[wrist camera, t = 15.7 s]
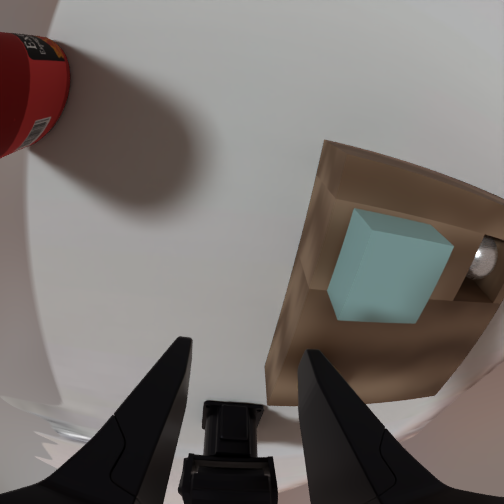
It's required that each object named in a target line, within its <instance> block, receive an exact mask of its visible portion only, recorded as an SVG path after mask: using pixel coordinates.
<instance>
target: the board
mask: <svg viewBox="0 0 504 504" xmlns="http://www.w3.org/2000/svg"><path fill="white" fill-rule="evenodd" d="M354 208H356V209H361V210H366V211H371V212H376V213H381V214H385V215H390V216H395V217H399V218H404V219H408V220H412V221H417V222H421V223H425V224H430V225H431V226H433V227H434V228H435V229H436V230H437V231H438V232H439V233H440V234H441V235H443V236H444V237H445V238H446V239H447V240H448V241H449V242H450V243H451V244H452V245H453V246H454V248H453V250H452V252H451V254H450V257H449V259H448V261H447V263H446V265H445V268H444V270H443V272H442V274H441V276H440V278H439V280H438V282H437V284H436V286H435V288H434V290H433V292H432V294H431V296H430V298H429V300H428V302H427V304H426V305H425V307H424V309H423V311H422V313H421V315H420V316H419V318H418V320H417V322H416V323H415V324H412V323H380V322H359V321H341V320H337V317H336V314H335V311H334V309H333V306H332V303H331V300H330V297H329V295H328V292H327V289H328V286H329V284H330V281H331V278H332V275H333V272H334V269H335V266H336V263H337V260H338V257H339V254H340V251H341V248H342V245H343V242H344V239H345V236H346V233H347V229H348V226H349V223H350V220H351V216H352V213H353V210H354ZM484 235H489V236H492V238H493V239H494V241H495V243H496V246H497V251H498V257H497V262H496V265H495V267H494V269H493V270H492V272H491V273H490V274H489V275H487V276H486V277H484V278H482V279H476V280H475V279H470V278H467V277H466V275H467V273H468V270H469V268H470V266H471V264H472V262H473V260H474V258H475V256H476V253H477V251H478V249H479V247H480V244H481V242H482V240H483V237H484ZM503 299H504V199H503V198H500V197H498V196H496V195H494V194H491V193H489V192H487V191H485V190H482V189H480V188H477V187H475V186H473V185H470V184H468V183H465V182H463V181H460V180H457V179H455V178H452V177H449V176H447V175H444V174H441V173H439V172H436V171H433V170H430V169H427V168H424V167H421V166H418V165H415V164H412V163H409V162H406V161H403V160H399V159H396V158H393V157H389V156H386V155H383V154H379V153H376V152H372V151H368V150H365V149H361V148H357V147H353V146H349V145H345V144H341V143H337V142H333V141H328V140H324V143H323V148H322V152H321V157H320V161H319V165H318V170H317V174H316V178H315V183H314V187H313V191H312V195H311V199H310V203H309V207H308V212H307V216H306V220H305V224H304V228H303V231H302V235H301V239H300V243H299V247H298V251H297V255H296V258H295V262H294V266H293V270H292V273H291V277H290V281H289V284H288V288H287V292H286V295H285V299H284V302H283V306H282V309H281V313H280V316H279V320H278V323H277V327H276V330H275V333H274V337H273V340H272V344H271V347H270V350H269V354H268V357H267V360H266V363H265V379H266V394H267V405H269V406H298V391H297V380H298V374H297V372H298V366H299V363H300V361H301V358H302V356H303V354H304V351H305V350H306V349H318V350H320V351H321V352H322V353H323V355H324V356H325V357H326V358H327V359H328V360H329V362H330V363H331V364H332V365H334V366H335V367H336V368H337V369H338V370H339V371H340V373H341V375H342V377H343V378H344V379H345V381H346V382H347V383H348V384H349V385H350V387H351V388H352V389H353V390H354V391H355V392H356V394H357V395H358V396H359V397H360V398H361V399H362V401H363V402H364V403H365V404H371V403H382V402H392V401H400V400H408V399H416V398H423V397H429V396H435V395H436V394H437V392H438V391H439V390H440V389H441V388H442V387H443V385H444V384H445V383H446V382H447V381H448V379H449V378H450V377H451V376H452V374H453V373H454V372H455V371H456V369H457V368H458V367H459V365H460V364H461V363H462V361H463V360H464V359H465V357H466V356H467V355H468V353H469V352H470V351H471V349H472V348H473V346H474V345H475V343H476V342H477V341H478V339H479V338H480V336H481V335H482V333H483V332H484V330H485V329H486V327H487V325H488V324H489V322H490V321H491V319H492V317H493V316H494V314H495V313H496V311H497V309H498V308H499V306H500V304H501V302H502V301H503Z"/></svg>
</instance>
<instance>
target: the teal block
mask: <svg viewBox="0 0 504 504" xmlns="http://www.w3.org/2000/svg"><path fill="white" fill-rule="evenodd" d="M453 248H454V246H453V245H452V244H451V243H450V242H449V241H448V240H447V239H446V238H445V237H444V236H443V235H441V234H440V233H439V232H438V231H437V230H436V229H435V228H434V227H433V226H431V225H430V224H425V223H421V222H417V221H412V220H408V219H404V218H399V217H395V216H390V215H385V214H381V213H376V212H371V211H366V210H361V209H356V208H354V210H353V213H352V216H351V220H350V223H349V226H348V229H347V233H346V236H345V239H344V242H343V245H342V248H341V251H340V254H339V257H338V260H337V263H336V266H335V269H334V272H333V275H332V278H331V281H330V284H329V286H328V289H327V292H328V295H329V297H330V300H331V303H332V306H333V309H334V311H335V314H336V317H337V320H341V321H359V322H380V323H412V324H415V323H416V322H417V320H418V318H419V316H420V315H421V313H422V311H423V309H424V307H425V305H426V304H427V302H428V300H429V298H430V296H431V294H432V292H433V290H434V288H435V286H436V284H437V282H438V280H439V278H440V276H441V274H442V272H443V270H444V268H445V265H446V263H447V261H448V259H449V257H450V254H451V252H452V250H453Z"/></svg>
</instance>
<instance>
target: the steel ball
mask: <svg viewBox="0 0 504 504" xmlns="http://www.w3.org/2000/svg"><path fill="white" fill-rule="evenodd" d="M497 257H498V251H497V246H496V243H495V241H494V239H493V238H492V236H489V235H484V237H483V240H482V242H481V244H480V247H479V249H478V251H477V253H476V256H475V258H474V260H473V262H472V264H471V266H470V268H469V270H468V273H467V275H466V277H467V278H470V279H475V280H476V279H482V278H484V277H486V276H487V275H489V274H490V273H491V272H492V270H493V269H494V267H495V265H496V262H497Z"/></svg>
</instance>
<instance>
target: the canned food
mask: <svg viewBox="0 0 504 504" xmlns="http://www.w3.org/2000/svg"><path fill="white" fill-rule="evenodd" d="M69 88H70V69H69V64H68V60H67V57H66V55H65V53H64V52H63V50H62V49H61V48H60V47H59V46H58V45H57V44H56V43H55V42H54V41H52V40H50V39H48V38H46V37H40V36H33V35H24V34H16V33H4V32H0V158H2V157H4V156H6V155H9V154H11V153H13V152H16V151H18V150H20V149H23V148H25V147H28V146H30V145H32V144H34V143H36V142H37V141H39V140H40V139H41V138H43V137H44V136H45V135H46V134H47V133H48V132H49V131H50V130H51V128H52V127H53V126H54V125H55V124H56V122H57V120H58V119H59V117H60V116H61V113H62V111H63V109H64V107H65V104H66V101H67V98H68V93H69Z"/></svg>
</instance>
